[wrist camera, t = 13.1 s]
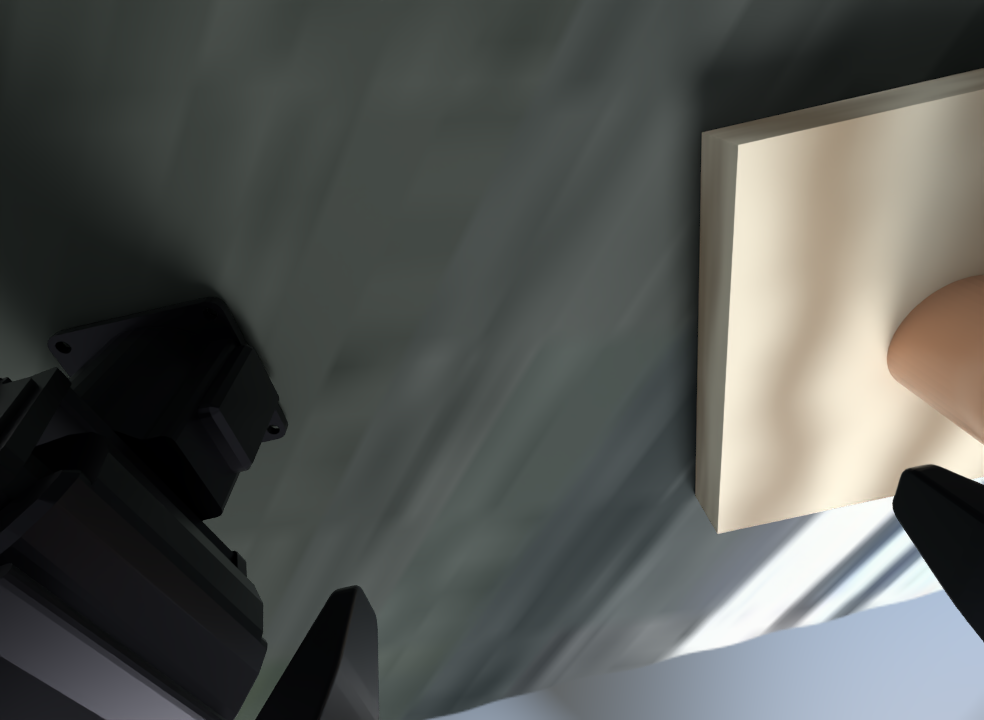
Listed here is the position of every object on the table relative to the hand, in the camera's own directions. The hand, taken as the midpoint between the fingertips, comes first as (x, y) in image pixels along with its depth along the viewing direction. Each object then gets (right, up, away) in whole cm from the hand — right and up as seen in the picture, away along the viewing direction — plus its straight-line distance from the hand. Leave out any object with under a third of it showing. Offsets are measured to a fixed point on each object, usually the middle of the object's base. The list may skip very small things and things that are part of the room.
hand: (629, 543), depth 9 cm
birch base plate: (+15, +5, +14) cm, 22 cm away
